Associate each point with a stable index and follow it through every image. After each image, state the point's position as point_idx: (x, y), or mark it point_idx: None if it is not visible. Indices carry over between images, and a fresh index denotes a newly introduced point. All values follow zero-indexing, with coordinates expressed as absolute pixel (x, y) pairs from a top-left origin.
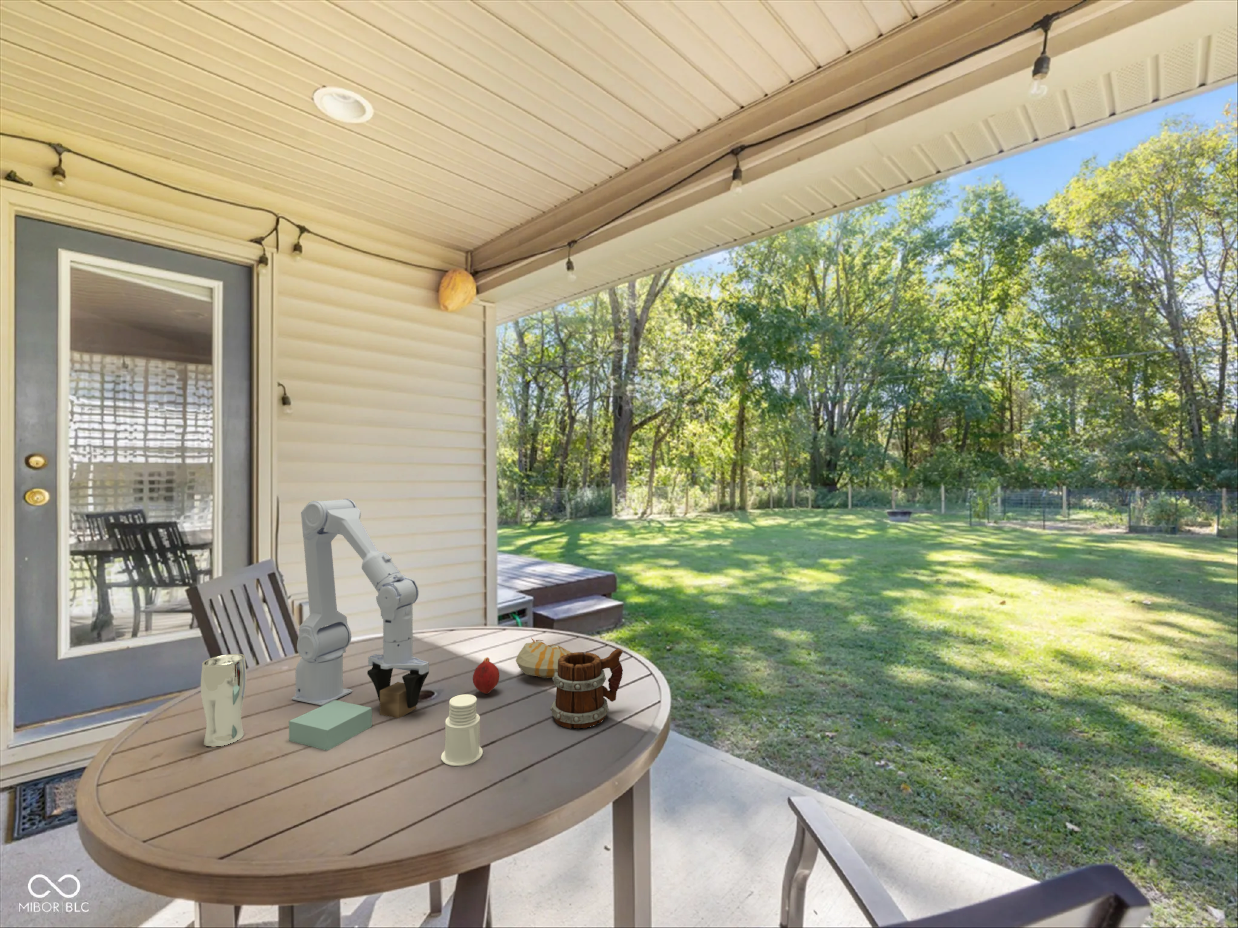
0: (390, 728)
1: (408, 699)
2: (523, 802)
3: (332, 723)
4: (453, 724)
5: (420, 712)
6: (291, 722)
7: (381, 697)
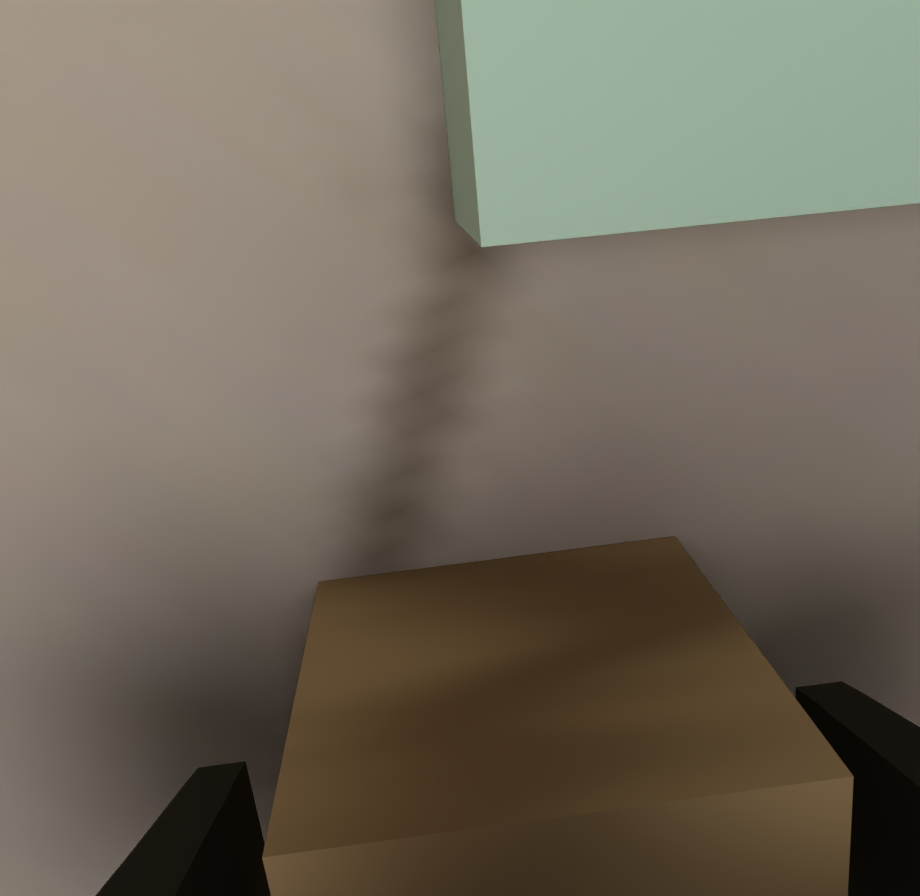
0: (121, 307)
1: (154, 861)
2: None
3: None
4: None
5: None
6: None
7: (739, 688)
